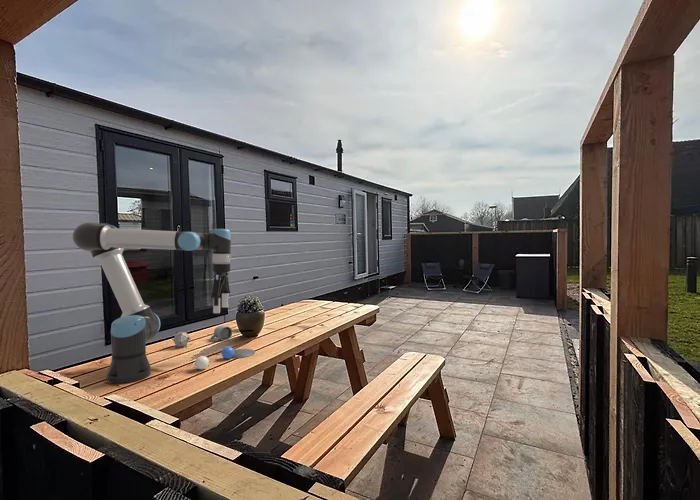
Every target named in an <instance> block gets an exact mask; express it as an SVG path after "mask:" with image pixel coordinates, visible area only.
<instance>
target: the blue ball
mask: <svg viewBox="0 0 700 500" xmlns="http://www.w3.org/2000/svg"><path fill="white" fill-rule="evenodd" d="M234 350H235V349H234V348H233V347H232V346H226V347H224V348H222V349H221V356H222V358H223V359H226V360H229V359H232V358H231V357H232V356H233V355H234Z"/></svg>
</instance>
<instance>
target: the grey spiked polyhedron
mask: <svg viewBox="0 0 700 500" xmlns="http://www.w3.org/2000/svg"><path fill="white" fill-rule="evenodd" d="M175 333H176V334H175V336H174V338H171V340H172V341H173V342H174V345H175V349H177V348H180V347H181V348H182V347H185V348H187V347H188V346H187V345H188V343H189V341H190V340H191V338H190V337H189V335H188V330H186V331H183V332H181V331H180V332H178V331H175Z"/></svg>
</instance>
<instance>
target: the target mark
mask: <svg viewBox="0 0 700 500" xmlns="http://www.w3.org/2000/svg"><path fill="white" fill-rule="evenodd" d="M233 350H234V355H233V356H232V357H231V358H230V359H244V358H248V357H251V356H254V355H255V354H256V351H255V350H254V349H250V348H238V349H233Z"/></svg>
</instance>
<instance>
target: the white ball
mask: <svg viewBox="0 0 700 500" xmlns="http://www.w3.org/2000/svg"><path fill="white" fill-rule="evenodd" d="M209 363H210V360H209V358H208V356H205V355H200V356H198V357H197V358H196V359H195V361H194V367H196V369H198V370H205V369H206V368H208V367H209Z"/></svg>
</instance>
